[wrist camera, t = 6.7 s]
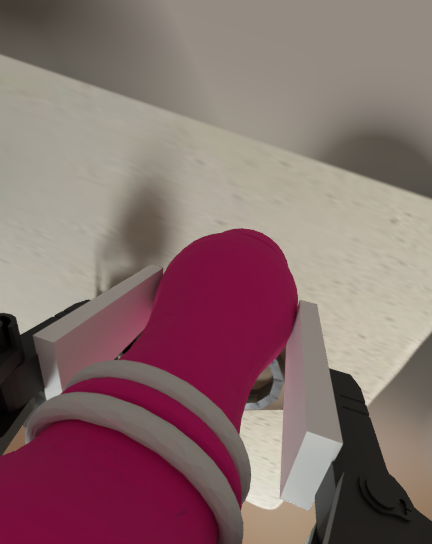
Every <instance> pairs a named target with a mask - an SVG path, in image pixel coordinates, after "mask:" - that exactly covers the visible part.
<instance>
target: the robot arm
mask: <svg viewBox="0 0 432 544" xmlns="http://www.w3.org/2000/svg"><path fill="white" fill-rule="evenodd" d="M162 277H163V268H162V267H158V266H154V265H149V266H147V267H146V268H144V269H142V270H141V271H139V272H137V273H136V274H134V275H132V276H131V277H129V278H127V279H126V280H124V281H122V282H121V283H119V284H117V285H116V286H114V287H112V288H111V289H109V290H107V291H106V292H104V293H102V294H101V295H99V296H97V297H96V298H94V299H92V300H85V301H82V302H79V303H76V304H74V305H72V306H70V307H68V308H67V309H65V310H64V311H63V312H62V311H61V312H60V313H58V314H56V315H55V316H54V317H51V318H49V319H47V320H46V321H44V322H42V323H40V324H39V325H37V326H35V327H34V328H32V329H30V330H28V331H27V332H25V333H23V334H21V335H20V333H19V329H18V324H17V320H16V317H14V316H13V315H12V314H6V313H0V456H2V454H3V453H4V451H5V450H6V449H7V447H8V446H9V444H10V442H11V441H12V440H13V438H14V437H15V435H16V434H17V432H18V431H19V429H20V428H21V426H22V425H23V424H24V422H25V421H26V419H27V418H28V416H29V415H30V413H31V412H32V410H33V408H34V406H35V404H36V403H35V396H36V395H37V394H38V393H39V392H40V391H42V390H43V389H44V391H45V396H46V401H47V400H49V399H51V398H52V397H54V396H57V395H60V394H61V393H62V392H63V390H64V388H65V387H66V385H67V383H68V382H69V381H70V379H71V378H72V377H73V375H75V374H76V373H77V372H78V371H80V370H81V369H82V368H84V367H86V366H89V365H91V364H93V363H97V362H102V361H106V360H114V359H115V358H116V357H117V356H118V355H119V354H120V353H121V352H122V351H123V350H124V349H125V348H126V347H127V346H128V345H129V344H130V343H131V342H132V341H133V340H134V339H135V338H136V337H137V336H138V335H139V334H140V333H141V332H142V331H143V330H144V329H145V327H146V325H147V323H148V321H149V317H150V314H151V311H152V307H153V303H154V299H155V295H156V291H157V288H158V285H159V282H160V280H161V278H162ZM280 499H282V500H284V501H287V502H289V503H291V504H294V505H296V506H299V507H301V508H303V509H306V510H308V511H309V510H310V508H311V506H312V504H313V502H314V500H315V508H316V524H315V526H314V528H313V529H312V531H311V533H310V535H309V537H308V539H307V540H306V542H305V544H432V521H431V520H429V519H428V518H427V517H425V516H424V515H423V514H421V513H420V512H419V511H418V510H416V508H414V506H413V504H412V502H411V500H410V498H409V497H408V495H407V493H406V491H405V490H404V489H403V488H402V487H401V485H400V484H399V483H398V482H397V481H396V480H395V478H394V477H392V476H391V475H390V474H389V473H388V470H387V468H386V465H385V462H384V459H383V456H382V453H381V450H380V447H379V443H378V440H377V437H376V434H375V431H374V428H373V425H372V422H371V419H370V417H369V412H368V409H367V406H366V405H365V400H364V397H363V394H362V391H361V388H360V387H359V385H358V384H357V383H356V381H355V380H354V379H353V377H352V376H351V375H350V374H346V373H343V372H340V371H336V370H333V369H329V366H328V361H327V356H326V350H325V345H324V340H323V335H322V329H321V324H320V319H319V313H318V308H317V304H314V303H310V302H306V301H302V300H300V301H299V305H298V308H297V311H296V317H295V323H294V326H293V330H292V333H291V336H290V338H289V340H288V342H287V345H286V362H285V386H284V410H283V433H282V457H281V481H280Z"/></svg>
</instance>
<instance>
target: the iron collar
mask: <svg viewBox="0 0 432 544" xmlns="http://www.w3.org/2000/svg"><path fill="white" fill-rule="evenodd" d="M269 366H270V369H271V372H272V375H273V377H272V380H271V382H269V383H267V384H266V385H264V386H263V387H261V388H260V389H253V390H251V391H250V393H249V396H248V399H247V402H246V406H245V409H244V410H256V409H262V408H264V407H266V406H268V405H269V404H271V403H273V402H274V401H276V400H278V397H279V395H280V392H281V389H282V386H283V384H284V378H285V367H284V364H283V361H282V358H281V355H280V354H279V355H278V357H277V358H276V359H275V360H274V361H273V362H272V363H271V364H270V365H269Z"/></svg>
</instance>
